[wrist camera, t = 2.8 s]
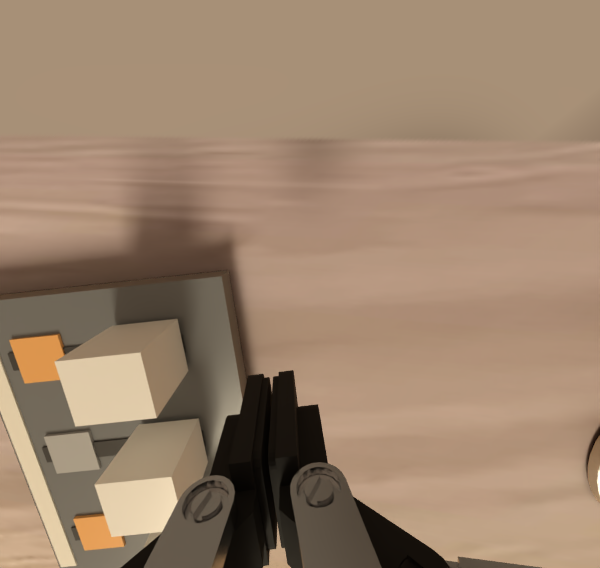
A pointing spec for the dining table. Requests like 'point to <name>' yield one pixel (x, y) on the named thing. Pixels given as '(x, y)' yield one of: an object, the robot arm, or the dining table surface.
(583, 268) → the dining table surface
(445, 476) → the dining table surface
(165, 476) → the tab
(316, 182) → the dining table surface
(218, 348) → the switch panel
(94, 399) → the tab
